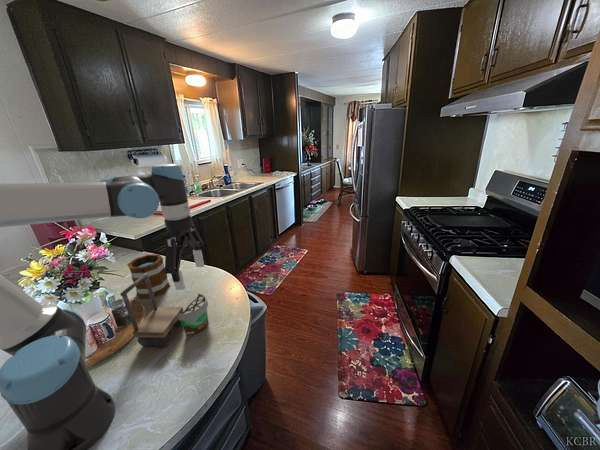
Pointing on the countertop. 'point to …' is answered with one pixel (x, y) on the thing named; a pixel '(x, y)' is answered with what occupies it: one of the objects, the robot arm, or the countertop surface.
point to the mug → (149, 275)
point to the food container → (195, 316)
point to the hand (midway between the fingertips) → (191, 277)
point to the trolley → (153, 319)
